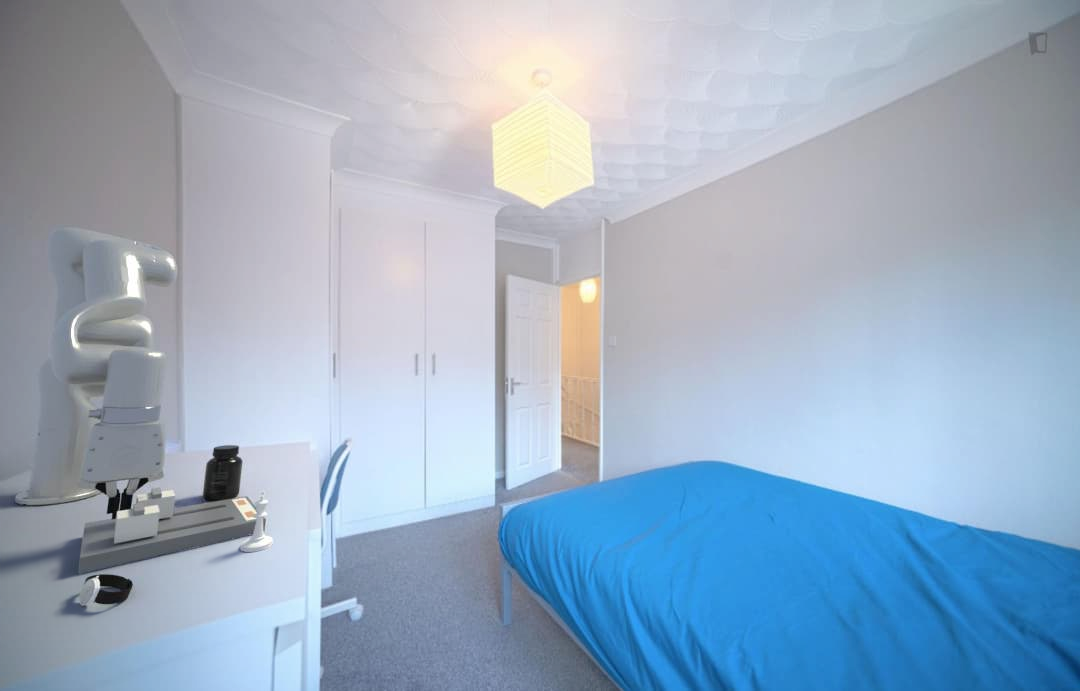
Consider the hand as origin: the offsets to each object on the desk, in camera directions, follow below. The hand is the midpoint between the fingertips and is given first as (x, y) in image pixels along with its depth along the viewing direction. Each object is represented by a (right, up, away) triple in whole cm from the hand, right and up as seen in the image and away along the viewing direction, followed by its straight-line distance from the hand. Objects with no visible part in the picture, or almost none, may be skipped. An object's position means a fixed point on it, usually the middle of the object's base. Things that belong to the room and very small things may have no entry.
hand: (118, 515), depth 70 cm
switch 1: (+3, -2, +3) cm, 5 cm away
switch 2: (+7, -2, -4) cm, 8 cm away
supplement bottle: (+1, -6, +22) cm, 23 cm away
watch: (+15, -5, -16) cm, 22 cm away
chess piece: (+24, -6, +1) cm, 25 cm away
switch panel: (+8, -5, +3) cm, 10 cm away
